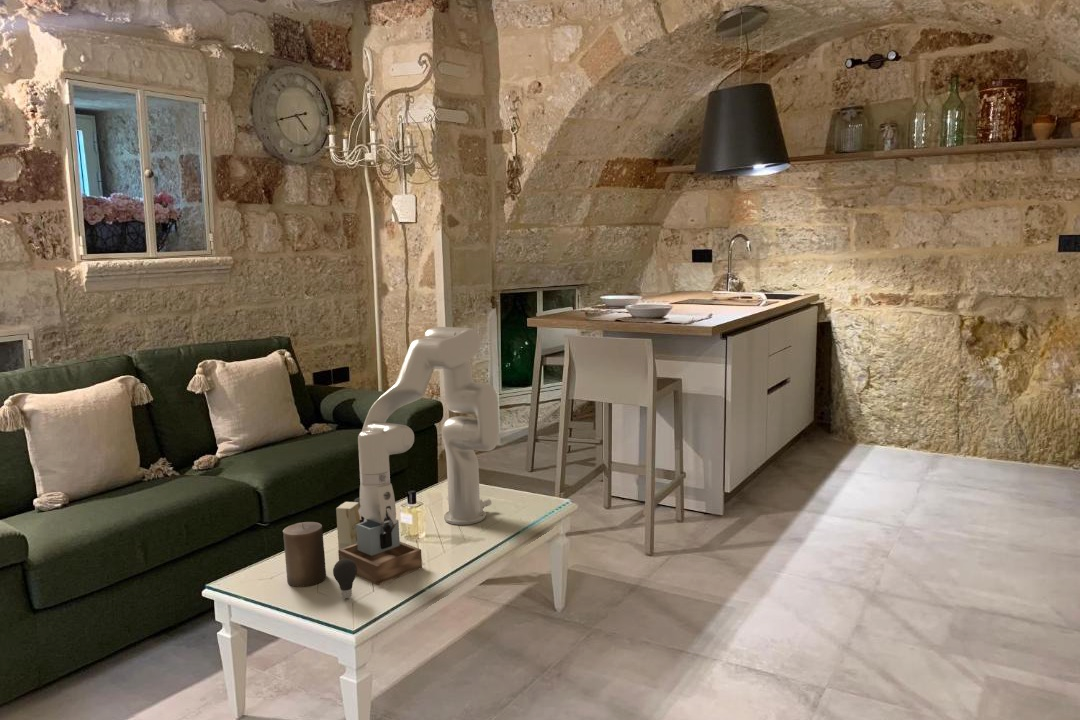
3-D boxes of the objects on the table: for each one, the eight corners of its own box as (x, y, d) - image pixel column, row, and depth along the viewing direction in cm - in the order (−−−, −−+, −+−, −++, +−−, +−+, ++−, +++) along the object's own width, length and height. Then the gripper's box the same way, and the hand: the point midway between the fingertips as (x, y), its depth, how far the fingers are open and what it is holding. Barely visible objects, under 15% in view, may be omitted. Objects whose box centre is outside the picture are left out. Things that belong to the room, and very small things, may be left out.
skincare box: (352, 551, 230) (349, 509, 228) (338, 550, 231) (335, 508, 229) (362, 542, 236) (359, 501, 234) (347, 542, 237) (345, 500, 235)
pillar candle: (330, 581, 210) (326, 524, 208) (291, 590, 206) (287, 532, 204) (320, 569, 219) (316, 514, 217) (282, 577, 214) (278, 521, 212)
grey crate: (385, 540, 222) (384, 515, 221) (399, 545, 218) (398, 520, 217) (357, 550, 216) (356, 524, 215) (371, 555, 212) (369, 529, 211)
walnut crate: (382, 552, 229) (381, 534, 228) (422, 567, 217) (421, 549, 217) (339, 567, 219) (338, 549, 218) (378, 585, 207) (376, 566, 207)
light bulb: (335, 605, 197) (332, 565, 195) (334, 595, 202) (331, 556, 200) (359, 601, 198) (357, 562, 197) (357, 592, 204) (355, 553, 202)
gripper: (407, 480, 211) (410, 548, 214) (367, 468, 223) (371, 533, 225) (383, 487, 206) (387, 556, 208) (343, 474, 217) (347, 540, 220)
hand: (378, 543), depth 217 cm, fingers closed on grey crate, 6 cm apart
